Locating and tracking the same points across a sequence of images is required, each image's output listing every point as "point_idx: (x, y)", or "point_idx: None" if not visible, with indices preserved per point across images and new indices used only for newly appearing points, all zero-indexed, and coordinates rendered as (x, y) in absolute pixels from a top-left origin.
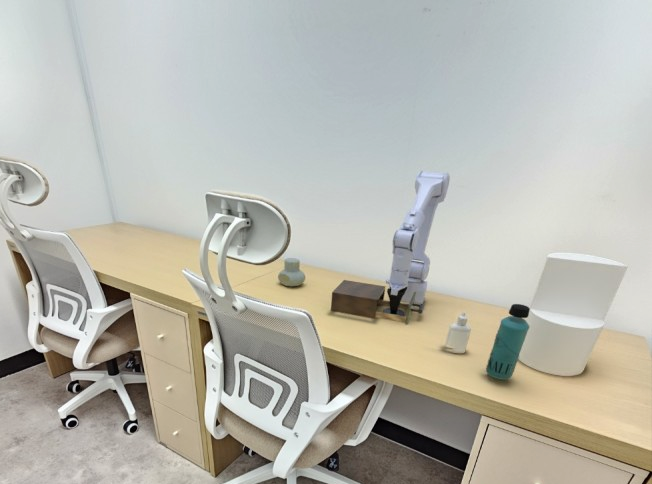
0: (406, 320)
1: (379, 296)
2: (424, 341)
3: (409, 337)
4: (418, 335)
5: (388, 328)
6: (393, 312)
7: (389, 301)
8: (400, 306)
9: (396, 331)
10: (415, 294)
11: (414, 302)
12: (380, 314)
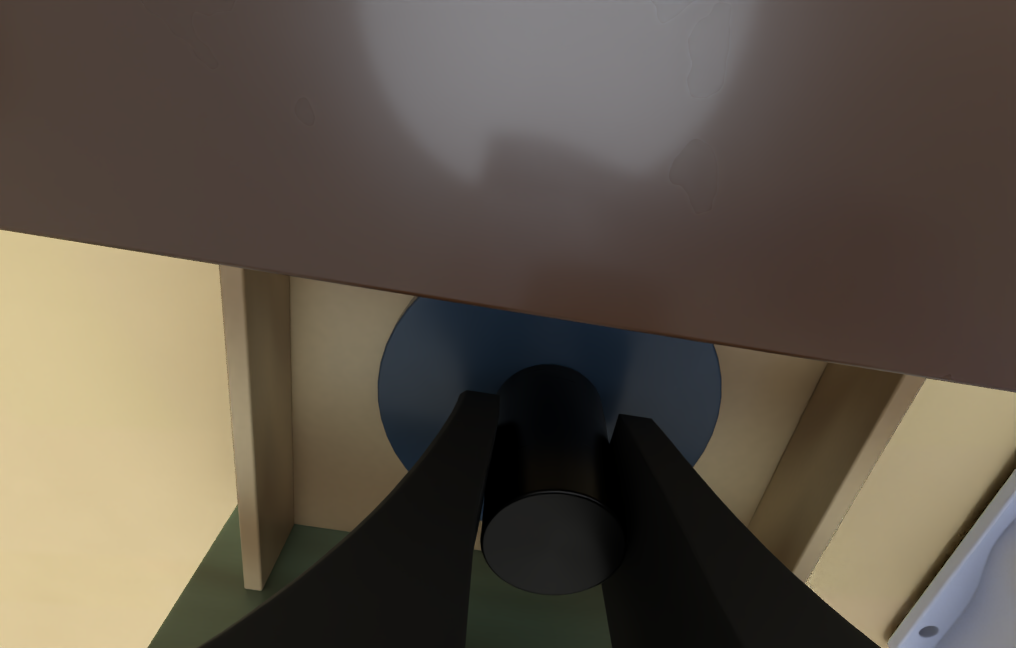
0: (205, 565)
1: (233, 260)
2: (59, 608)
3: (54, 508)
4: (158, 577)
5: (150, 306)
6: None
7: (902, 380)
8: (781, 505)
9: (120, 396)
10: None
11: (997, 640)
12: None
